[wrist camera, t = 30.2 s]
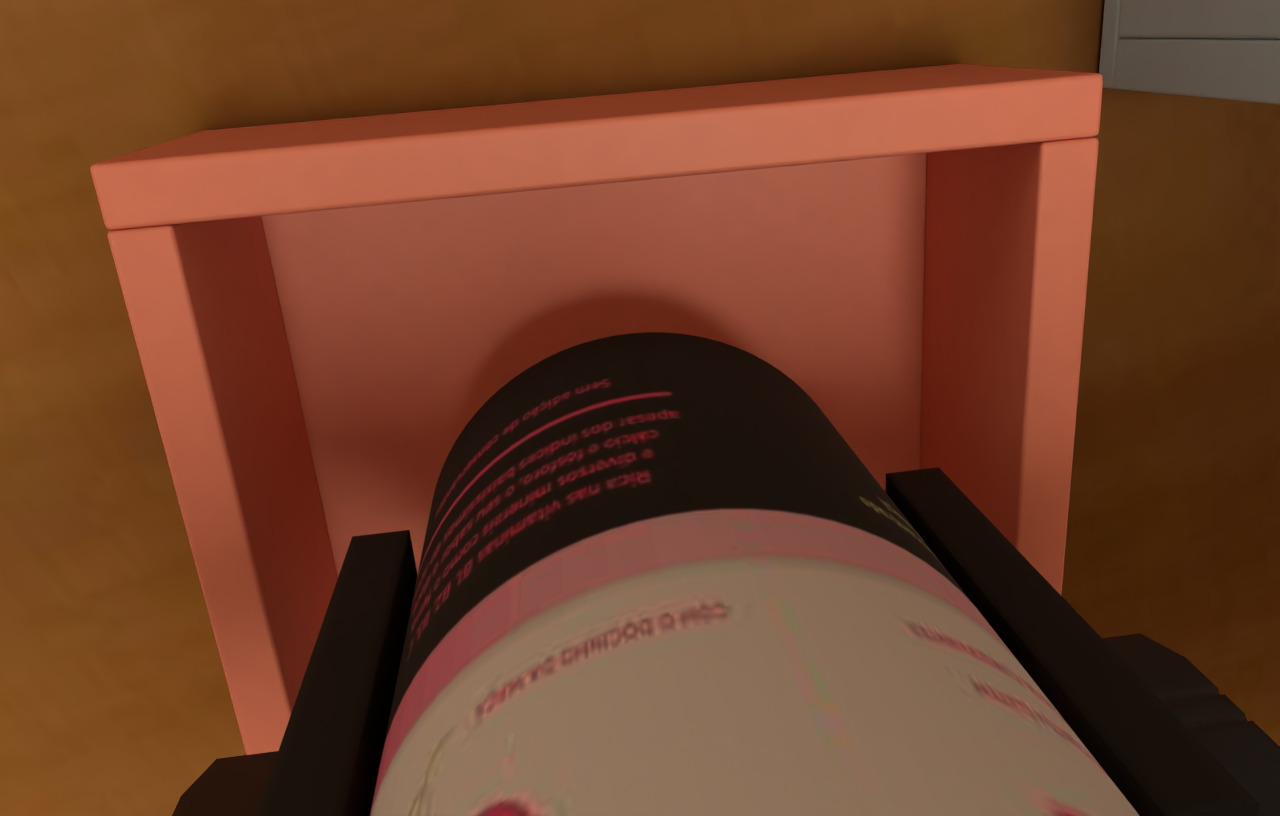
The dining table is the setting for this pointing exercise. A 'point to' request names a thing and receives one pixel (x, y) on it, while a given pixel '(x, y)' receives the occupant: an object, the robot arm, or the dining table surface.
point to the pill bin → (1193, 48)
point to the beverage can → (699, 618)
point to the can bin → (595, 299)
